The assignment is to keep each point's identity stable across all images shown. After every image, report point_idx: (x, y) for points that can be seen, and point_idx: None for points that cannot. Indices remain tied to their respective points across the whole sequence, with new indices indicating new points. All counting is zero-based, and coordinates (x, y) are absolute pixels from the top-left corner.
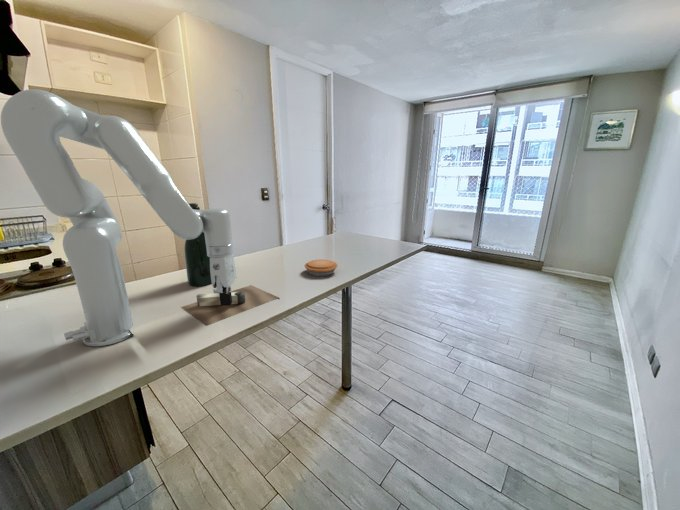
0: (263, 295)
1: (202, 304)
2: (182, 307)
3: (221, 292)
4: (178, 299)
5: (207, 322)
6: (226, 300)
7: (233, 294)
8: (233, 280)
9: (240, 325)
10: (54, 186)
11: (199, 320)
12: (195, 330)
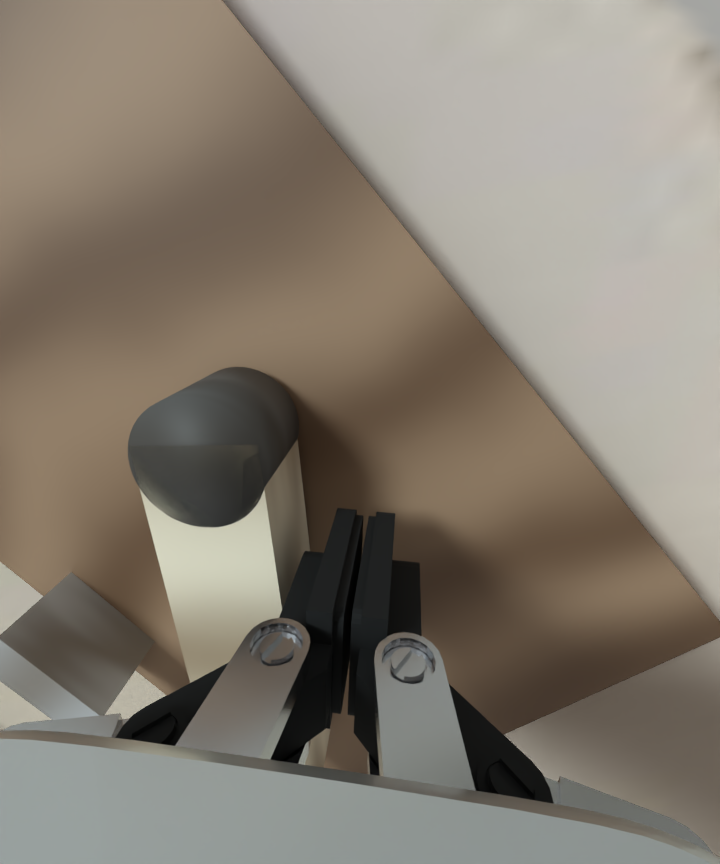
0: (19, 147)
1: (326, 728)
2: None
3: (666, 830)
4: None
5: (657, 633)
6: (417, 590)
7: (226, 538)
8: (231, 820)
9: (712, 330)
10: None
11: (595, 691)
12: (661, 666)
